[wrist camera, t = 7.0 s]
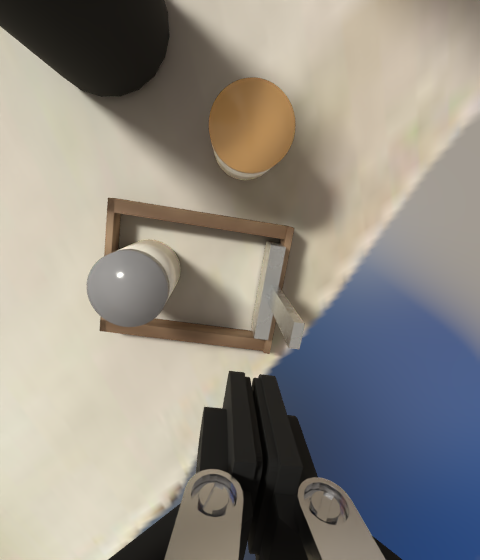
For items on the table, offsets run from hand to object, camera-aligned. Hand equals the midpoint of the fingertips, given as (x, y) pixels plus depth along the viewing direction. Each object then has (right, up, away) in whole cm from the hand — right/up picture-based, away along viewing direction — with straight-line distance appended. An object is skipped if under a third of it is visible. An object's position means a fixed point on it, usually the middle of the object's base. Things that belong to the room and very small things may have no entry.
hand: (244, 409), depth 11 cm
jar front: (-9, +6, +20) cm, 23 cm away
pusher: (+2, +4, +21) cm, 22 cm away
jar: (0, +17, +18) cm, 25 cm away
